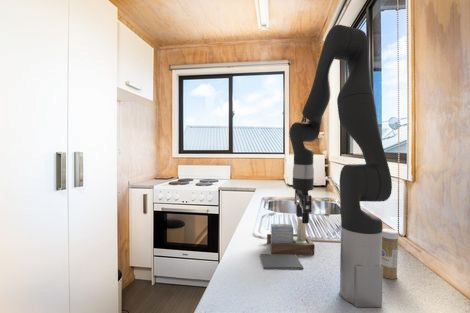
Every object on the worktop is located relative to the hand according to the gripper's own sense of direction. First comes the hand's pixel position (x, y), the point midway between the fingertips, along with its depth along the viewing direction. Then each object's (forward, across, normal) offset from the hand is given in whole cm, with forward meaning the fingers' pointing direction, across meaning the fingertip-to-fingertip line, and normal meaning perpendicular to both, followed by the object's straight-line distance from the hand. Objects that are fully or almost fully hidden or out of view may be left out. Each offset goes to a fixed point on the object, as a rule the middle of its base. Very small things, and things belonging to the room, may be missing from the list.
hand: (302, 219), depth 97 cm
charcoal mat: (+10, -12, +10) cm, 19 cm away
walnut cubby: (+11, 0, +5) cm, 12 cm away
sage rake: (+10, 0, +1) cm, 10 cm away
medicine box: (+11, 0, +8) cm, 13 cm away
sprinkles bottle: (+10, -21, -20) cm, 31 cm away
